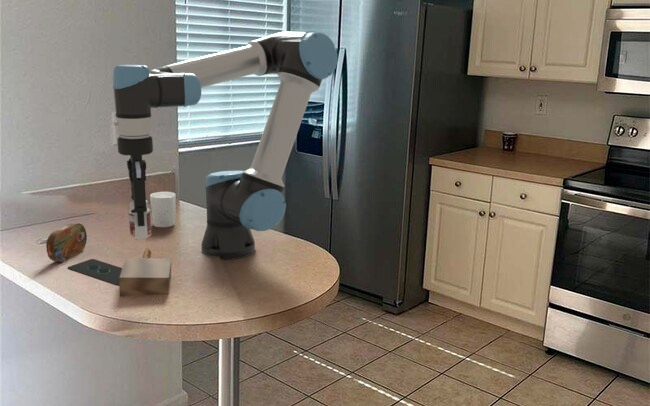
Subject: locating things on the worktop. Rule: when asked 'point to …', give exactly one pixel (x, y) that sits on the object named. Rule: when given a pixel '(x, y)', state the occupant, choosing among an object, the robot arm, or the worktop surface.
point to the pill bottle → (131, 220)
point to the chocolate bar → (147, 253)
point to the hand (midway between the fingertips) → (140, 234)
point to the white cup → (163, 208)
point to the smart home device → (99, 270)
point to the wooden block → (145, 276)
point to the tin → (66, 242)
